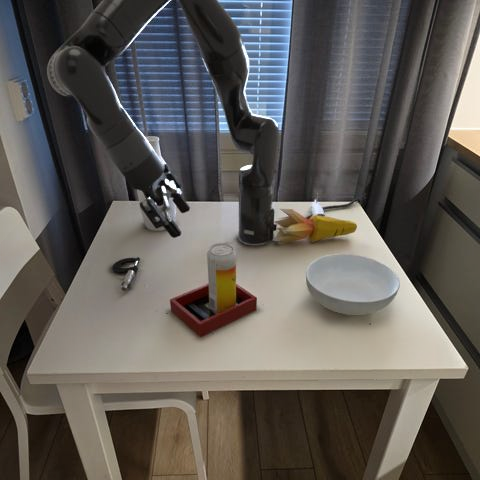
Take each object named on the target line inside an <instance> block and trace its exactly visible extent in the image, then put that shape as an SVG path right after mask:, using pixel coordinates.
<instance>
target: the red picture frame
mask: <svg viewBox="0 0 480 480" xmlns="http://www.w3.org/2000/svg"><path fill="white" fill-rule="evenodd" d="M208 303H209V283H206V284H203V285H200V286H198V287H196V288H193V289H192V290H189V291H187V292H183V293H182V294H179V295H177V296H174V297H173V298H169V304H170V305H169V306H170V313H171V314H173V315H174V316H175V317H176V318H177V319H179V320H180V322H182V323H183V324H184V325H185V326H187V327H188V328H189V330H191V331H193V332H194V334H196V335H197V336H198V338H202V337H205V336H206V335H207V336H208V335H209V334H210V333H213V332H214V331H217V330H219V329H221V328H223V327H225V326H227V325H230V324H231V323H233V322H235V321H237V320H239V319H242V318H243V317H245V316H247V315H250V314H252V313H254V312H256V311H257V309H258V297H257V296H256V295H254V294H252V293H251V292H249V291H248V290H246V289H245V288H244V287H242V286H240V285H239V284H238V283H236V305H235V306H233V307H231V308H228V309H226V310H224V311H222V312H220V313H217V312H215V311H213V309H211V308H210V307H208V306H207V305H206V304H208Z"/></svg>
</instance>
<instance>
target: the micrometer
mask: <svg viewBox="0 0 480 480" xmlns="http://www.w3.org/2000/svg"><path fill="white" fill-rule="evenodd" d="M140 261H141V258H140V257H139V256H137V257H126V258H122V259H119V260H117V261H116V262H114V264H113V265H112V267H111V269H112V271H113V273H115V274H119V275H120V274H122V275H123V274H125V275H124V278H123V280H122V281H121V287H120V288H121V291H122V292H127V290H128V289H131V287H132V283H133V281H134V279H135V276H136V275H137V272H138V270H139V267H138V264H139V263H140ZM125 264H130V265H128V266H129V267H121V266H123V265H125Z"/></svg>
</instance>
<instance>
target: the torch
mask: <svg viewBox="0 0 480 480" xmlns="http://www.w3.org/2000/svg"><path fill="white" fill-rule="evenodd" d="M279 210H280V211H282V212H283V213H284V214H286V215H287V216H283V217H279V218H276V219H274V224H275V225H277V230H278V232H277V233H276V235H275V236H274V237H273V241H277V243H276V245H280V244H287V243H292V242H297V241H299V240H303V239H306V238H308V240H309V241H310V243H315V242H318V241H321V240H324V239H327V238H335V237H341V236H347V235H350V234H353V233H355V232H356V230H357V228H358V226H357V223H356V222H354V221H351V220H345V219H339V218H334V217H330V216H326V215H325V216H319V215H314V216H311V217H310V219H306V216H304V215H302V214H301V213H299V212H297V211H295V210H294V209H292V208H279Z"/></svg>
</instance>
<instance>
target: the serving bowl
mask: <svg viewBox="0 0 480 480" xmlns="http://www.w3.org/2000/svg"><path fill="white" fill-rule="evenodd" d="M305 284H306V287H307V290H308V292H309V293H310V295H311V296H312V298H313V299H314V300H315V301H316V302H317V303H318V304H320V306H323V307H324V308H326V309H328V310H329V311H332V312H335V313H339V314H341V315H342V314H343V315H348V316H365V315H370V314H373V313H376V312H378V311H381V310H383V309H385V308H386V307H387V306H389V305H390V304H391V303H392V301H393V300H394V299H395V297H396V296H397V294H398V292H399V290H400V287H401V280H400V278H399V276H398V274H397V273H396V272H395V270H393V269H392V268H391V267H389V266H388V265H387V264H385V263H383V262H381V261H379V260H376V259H375V258H371V257H367V256H363V255H359V254H353V253H351V254H349V253H335V254H328V255H325V256H321V257H319V258H317V259H315V260H313V261H312V262H310V264H308V266H307V268H306V270H305Z"/></svg>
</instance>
